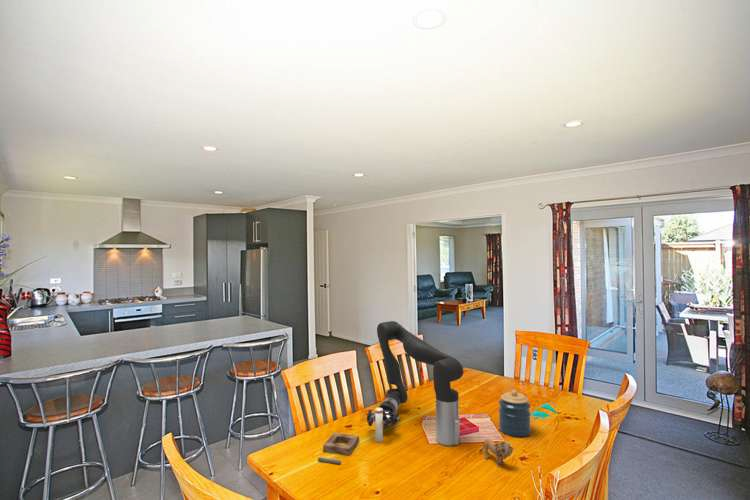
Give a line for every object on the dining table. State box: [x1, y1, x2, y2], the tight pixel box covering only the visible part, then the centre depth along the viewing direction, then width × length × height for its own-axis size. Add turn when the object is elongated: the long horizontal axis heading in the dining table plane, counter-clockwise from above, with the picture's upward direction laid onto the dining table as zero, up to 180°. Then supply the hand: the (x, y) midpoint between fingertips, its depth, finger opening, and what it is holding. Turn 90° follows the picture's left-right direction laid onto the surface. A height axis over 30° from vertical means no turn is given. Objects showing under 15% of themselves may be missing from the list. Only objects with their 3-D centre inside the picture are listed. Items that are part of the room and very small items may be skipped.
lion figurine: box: [478, 438, 515, 468], centre depth 142 cm, size 15×5×9 cm, turn 35°
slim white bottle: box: [374, 407, 384, 443], centre depth 158 cm, size 3×3×13 cm
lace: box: [317, 456, 342, 465], centre depth 141 cm, size 9×1×1 cm, turn 73°
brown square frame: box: [322, 432, 360, 456], centre depth 153 cm, size 11×11×2 cm
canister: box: [498, 389, 532, 438], centre depth 166 cm, size 13×13×18 cm
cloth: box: [530, 402, 557, 420], centre depth 186 cm, size 26×14×2 cm, turn 123°
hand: (377, 424), depth 155 cm, fingers open, 5 cm apart
